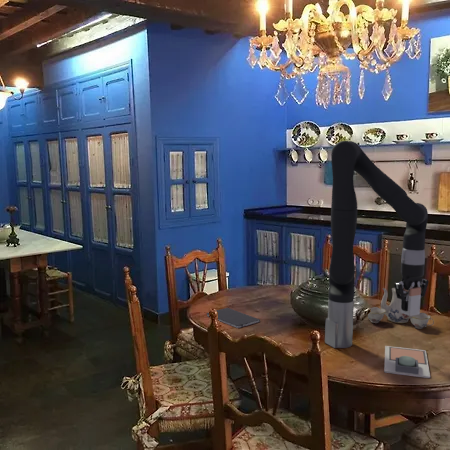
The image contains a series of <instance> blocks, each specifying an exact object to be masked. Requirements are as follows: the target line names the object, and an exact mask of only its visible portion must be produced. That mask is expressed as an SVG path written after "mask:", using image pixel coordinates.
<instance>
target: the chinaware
mask: <svg viewBox="0 0 450 450" xmlns="http://www.w3.org/2000/svg"><path fill="white" fill-rule="evenodd" d="M382 290H383V292H384V293H383V296H382V299H381V301H380V307H378V306H373V307H369V308H370V309H371V312H370V313H369V314H368V317H367V318H368V320H370V322H371V323H373V324H374V323H375V324H379V323H380V321H381V320H383V318H384V316H386V317H387V320H388V321H389V322H390V323H391V322H392V323H396V324H407V323H409V319H410V323H411V324H412V325H413V326H414V329H418V330H421V329H422V330H423V329H424V328H427V326H433V325H434V324H435V323H434V322H435V320H434V319H433V318H432V315H428V314H427V313H425V312H420V314H419V315H413V316H409V315H406V314H403V313H401V299H399V298H397V295H396V290H395V287H392V288H391V292H392V298H391V301H390V304H389V305H388V304H387V300H388V292H389V291H388V290H387V289H386V288H385V287H382ZM429 320H430V321H431V320H432V324H428V323H429Z"/></svg>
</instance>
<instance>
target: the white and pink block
mask: <svg viewBox="0 0 450 450" xmlns="http://www.w3.org/2000/svg"><path fill="white" fill-rule="evenodd" d="M404 291H406V292H408V290H405V289H404ZM421 293H422V290H421V287H419V288H417V287H415V288H412V289H410V295H409V299H408V311H403V310H402V309H401V313H403V314H406V315H409V316H413V315H419V314H420V313H421V299H422V297H421ZM404 297H406V294H405V296H404ZM420 298H421V299H420ZM401 302H402V300H401Z"/></svg>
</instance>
